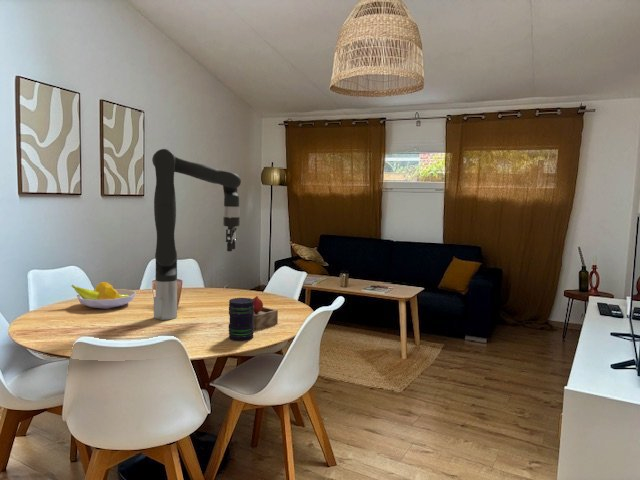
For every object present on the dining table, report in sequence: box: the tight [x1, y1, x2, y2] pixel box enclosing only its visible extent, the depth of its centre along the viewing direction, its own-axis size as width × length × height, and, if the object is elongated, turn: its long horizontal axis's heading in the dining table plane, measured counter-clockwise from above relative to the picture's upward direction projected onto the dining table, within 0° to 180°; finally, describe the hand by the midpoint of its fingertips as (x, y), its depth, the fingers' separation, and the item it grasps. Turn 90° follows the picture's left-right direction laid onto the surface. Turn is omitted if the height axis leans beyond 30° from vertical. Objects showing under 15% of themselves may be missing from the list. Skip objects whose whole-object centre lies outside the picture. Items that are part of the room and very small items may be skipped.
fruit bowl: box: [71, 281, 137, 310], centre depth 228 cm, size 28×27×11 cm
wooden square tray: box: [253, 306, 279, 331], centre depth 202 cm, size 13×13×6 cm
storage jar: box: [228, 297, 255, 342], centre depth 182 cm, size 10×10×15 cm
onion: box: [252, 295, 264, 314], centre depth 202 cm, size 6×6×8 cm
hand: (231, 250), depth 218 cm, fingers open, 8 cm apart
